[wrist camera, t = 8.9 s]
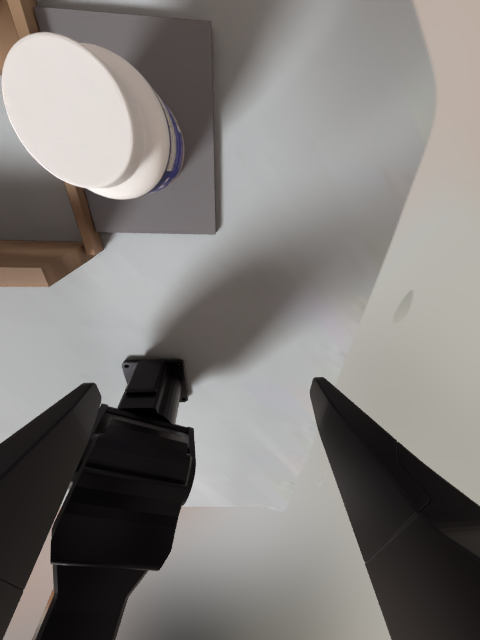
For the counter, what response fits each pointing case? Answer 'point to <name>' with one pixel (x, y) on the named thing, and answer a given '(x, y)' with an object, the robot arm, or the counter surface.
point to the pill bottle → (90, 117)
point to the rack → (64, 256)
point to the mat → (181, 98)
